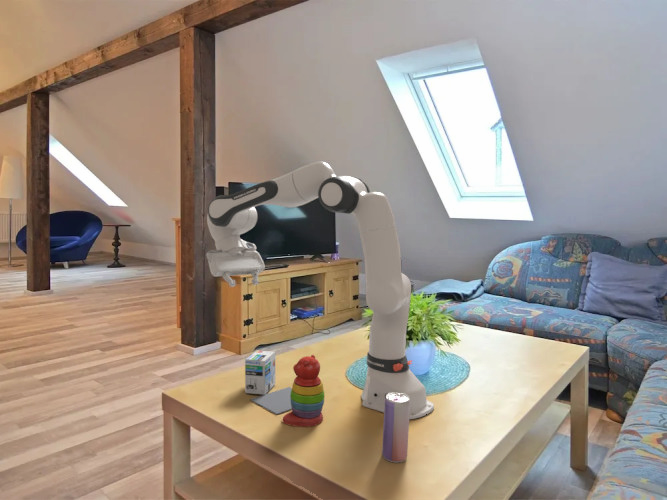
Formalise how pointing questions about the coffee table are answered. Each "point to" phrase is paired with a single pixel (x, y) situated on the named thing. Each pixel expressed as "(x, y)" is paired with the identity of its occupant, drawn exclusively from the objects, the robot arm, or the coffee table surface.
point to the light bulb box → (260, 372)
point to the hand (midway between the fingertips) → (245, 284)
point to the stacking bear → (306, 394)
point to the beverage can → (396, 427)
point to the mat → (275, 401)
